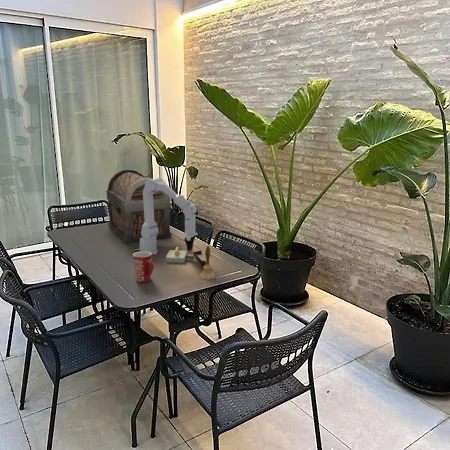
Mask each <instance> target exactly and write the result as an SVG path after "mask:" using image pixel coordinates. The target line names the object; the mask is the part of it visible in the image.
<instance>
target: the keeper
mask: <svg viewBox="0 0 450 450" xmlns="http://www.w3.org/2000/svg"><path fill="white" fill-rule="evenodd" d="M194 259H195V256H194V255H187V257H186V260H185V262H194Z"/></svg>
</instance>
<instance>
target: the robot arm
mask: <svg viewBox="0 0 450 450" xmlns="http://www.w3.org/2000/svg"><path fill="white" fill-rule="evenodd" d="M151 179H152V180H148V181H147V182H146V183H145V187H144V190H143V203H144V218H145V222H144V224H143V226H142V231H141V235H142V237H143V238H140V242H139V251H148V252H151V253H152V255H157V254H158V252H159V249H157V240H156V237H157V234H158V232H159V230H158V227H157V223H156V222H155V221H154V206H153V194H154V193H155V192H156V191H163V192H164V193H166V194H167V195H168V196H169V197H170V199H172V200H173V203H174V205H176V206H177V207H179V208H180V210H182V212H183V214H184V236H185V237H184V238H183V240H184V242H185V245H186V251H187V250H190V251H191V250H192V245H193V242H194V243H195V239H196V236H198V232H196V213H197V212H198V205H196V204H195V203H194V202H191V201H189V200H188V199H186V198H185V196H184V195H182V194H178V193H176V191H174V190H173V189H172V188H171V186H169V185H168V184H167V183H166V181H165V180H164V179H162V177H157V178H151Z"/></svg>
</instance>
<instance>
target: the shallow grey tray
mask: <svg viewBox="0 0 450 450" xmlns="http://www.w3.org/2000/svg"><path fill="white" fill-rule="evenodd" d="M187 256H188V254H187V253H186V256H185V259H166V258H165V262H166V263H167V264H168V263H169V264H171V263H172V264H185V263H186V259H187Z"/></svg>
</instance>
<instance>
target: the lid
mask: <svg viewBox="0 0 450 450" xmlns="http://www.w3.org/2000/svg"><path fill="white" fill-rule="evenodd" d="M186 253H187V250H180V246H176V247H175V250H171V249H169V251H168V253H167V255H166V258H165V260H166V259H185V256H186Z"/></svg>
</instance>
